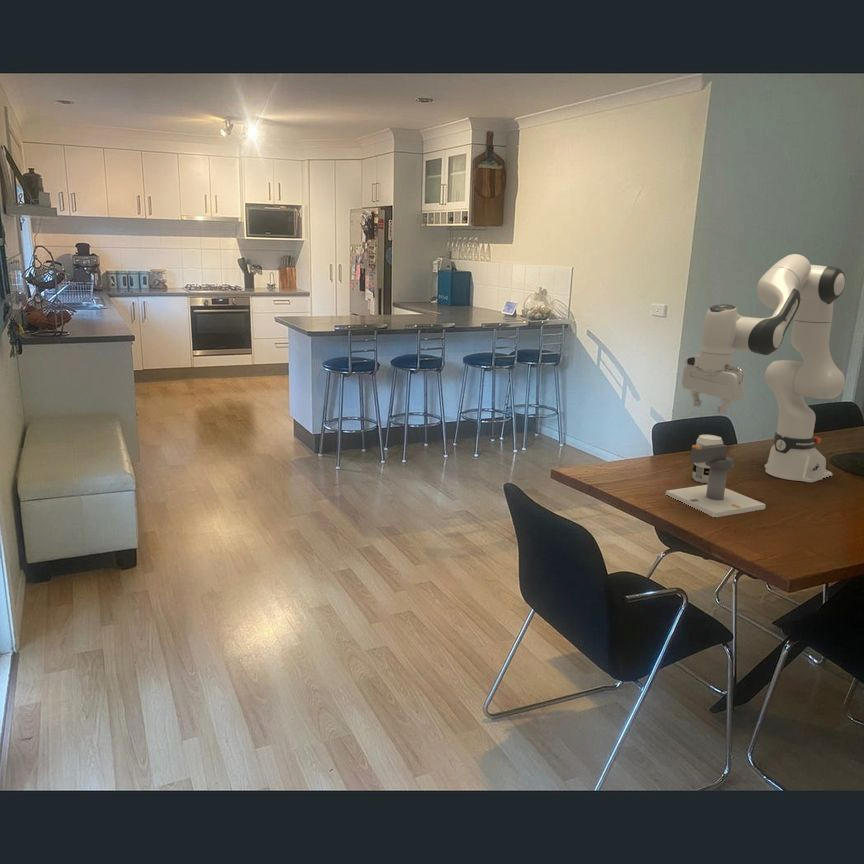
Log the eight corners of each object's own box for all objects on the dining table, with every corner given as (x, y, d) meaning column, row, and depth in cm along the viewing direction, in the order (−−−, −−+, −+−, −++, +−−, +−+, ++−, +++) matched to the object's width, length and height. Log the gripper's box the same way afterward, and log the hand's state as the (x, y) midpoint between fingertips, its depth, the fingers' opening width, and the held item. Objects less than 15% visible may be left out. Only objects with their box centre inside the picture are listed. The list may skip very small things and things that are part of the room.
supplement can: (694, 475, 239) (699, 432, 235) (719, 479, 235) (725, 436, 231) (689, 481, 232) (694, 437, 228) (715, 486, 228) (721, 441, 224)
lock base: (713, 488, 226) (718, 453, 223) (764, 509, 208) (770, 472, 206) (665, 495, 218) (669, 459, 215) (714, 517, 201) (719, 479, 198)
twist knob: (718, 460, 215) (721, 438, 214) (739, 467, 208) (742, 445, 207) (682, 464, 210) (685, 442, 208) (702, 472, 203) (705, 450, 201)
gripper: (752, 367, 192) (745, 416, 195) (697, 356, 210) (691, 402, 213) (735, 368, 189) (728, 418, 193) (681, 357, 207) (675, 403, 211)
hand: (708, 409), depth 203 cm, fingers open, 8 cm apart
